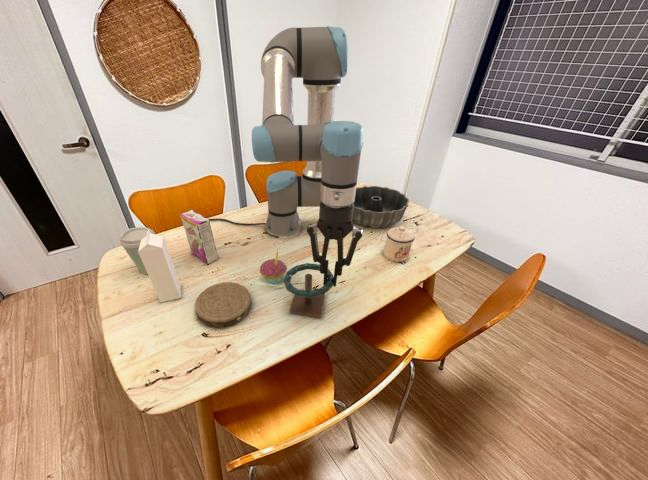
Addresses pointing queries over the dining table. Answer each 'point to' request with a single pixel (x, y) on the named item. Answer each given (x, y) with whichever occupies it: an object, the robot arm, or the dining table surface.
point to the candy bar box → (199, 236)
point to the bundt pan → (378, 206)
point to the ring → (304, 292)
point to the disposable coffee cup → (134, 244)
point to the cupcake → (273, 270)
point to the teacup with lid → (398, 244)
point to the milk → (159, 267)
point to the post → (308, 302)
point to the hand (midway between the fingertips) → (330, 282)
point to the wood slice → (223, 305)
